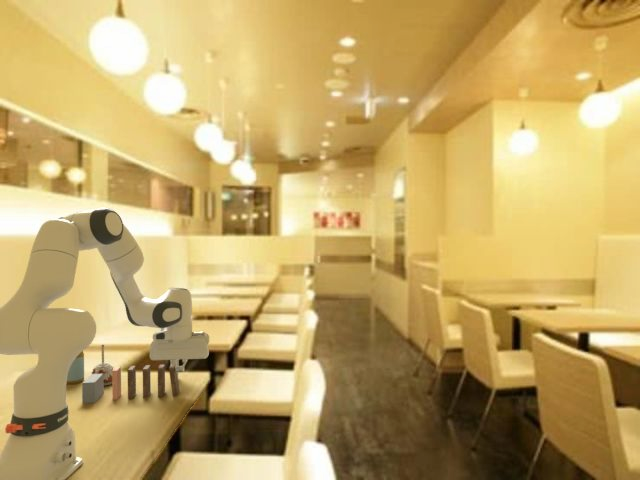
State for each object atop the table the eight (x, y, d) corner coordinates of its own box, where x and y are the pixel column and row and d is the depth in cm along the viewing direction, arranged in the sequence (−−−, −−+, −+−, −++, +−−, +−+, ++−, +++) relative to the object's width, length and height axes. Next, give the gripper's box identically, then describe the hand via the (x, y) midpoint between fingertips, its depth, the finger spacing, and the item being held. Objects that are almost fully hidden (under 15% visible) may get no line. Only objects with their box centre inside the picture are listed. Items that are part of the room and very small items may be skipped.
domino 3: (150, 392, 172) (150, 365, 172) (147, 397, 167) (147, 368, 167) (145, 393, 172) (145, 365, 171) (143, 397, 167) (142, 369, 166)
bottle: (81, 377, 190) (81, 340, 190) (86, 381, 185) (85, 343, 184) (62, 381, 186) (61, 342, 185) (66, 385, 180) (65, 345, 180)
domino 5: (179, 390, 173) (175, 363, 173) (177, 395, 168) (173, 367, 168) (174, 391, 173) (170, 364, 173) (172, 396, 168) (168, 368, 168)
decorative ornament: (87, 386, 180) (86, 346, 179) (102, 380, 187) (102, 341, 187) (103, 388, 177) (103, 347, 177) (118, 381, 185) (118, 343, 184)
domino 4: (165, 392, 173) (164, 364, 172) (162, 396, 168) (162, 368, 167) (160, 392, 172) (160, 364, 172) (157, 396, 167) (157, 368, 167)
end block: (95, 402, 162) (94, 382, 162) (82, 403, 161) (82, 382, 161) (103, 393, 172) (103, 373, 172) (91, 393, 171) (91, 374, 171)
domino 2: (136, 393, 171) (135, 365, 171) (132, 398, 166) (132, 369, 166) (131, 393, 171) (130, 365, 171) (127, 398, 166) (127, 369, 166)
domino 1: (121, 394, 170) (120, 366, 170) (117, 399, 165) (117, 370, 165) (116, 394, 170) (116, 366, 170) (112, 399, 165) (112, 370, 165)
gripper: (210, 330, 175) (210, 367, 175) (152, 331, 172) (152, 369, 173) (208, 333, 168) (208, 372, 169) (148, 335, 166) (148, 375, 166)
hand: (179, 371), depth 171 cm, fingers closed
